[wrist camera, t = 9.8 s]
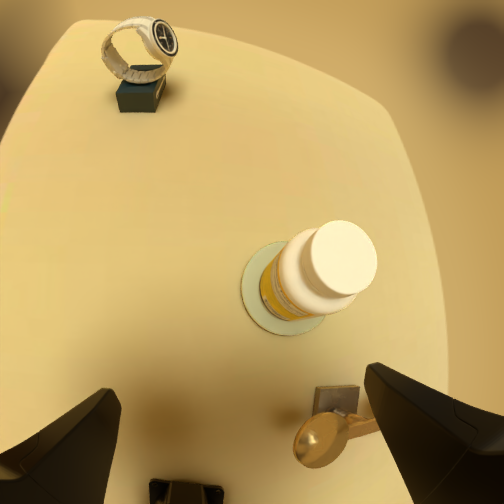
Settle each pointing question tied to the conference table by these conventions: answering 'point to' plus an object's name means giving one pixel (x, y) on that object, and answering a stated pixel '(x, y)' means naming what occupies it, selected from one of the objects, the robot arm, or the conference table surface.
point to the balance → (331, 426)
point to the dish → (254, 302)
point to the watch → (142, 76)
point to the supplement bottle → (318, 272)
